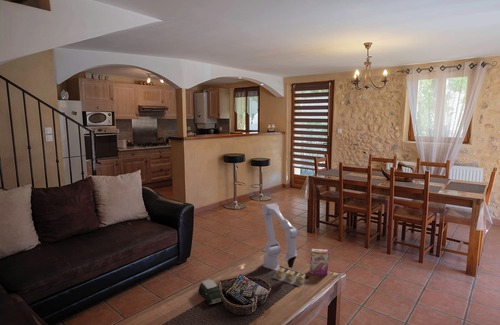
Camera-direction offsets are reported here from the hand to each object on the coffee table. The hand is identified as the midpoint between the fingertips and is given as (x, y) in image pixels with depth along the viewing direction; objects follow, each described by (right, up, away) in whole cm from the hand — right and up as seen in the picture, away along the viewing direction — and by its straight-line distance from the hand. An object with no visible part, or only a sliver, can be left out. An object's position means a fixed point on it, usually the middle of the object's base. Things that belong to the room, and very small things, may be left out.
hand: (290, 267), depth 197 cm
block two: (+6, -8, -2) cm, 10 cm away
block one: (-6, -7, +5) cm, 10 cm away
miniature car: (-48, -11, -18) cm, 53 cm away
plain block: (0, -8, +1) cm, 8 cm away
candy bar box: (+20, -8, +9) cm, 23 cm away
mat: (0, -8, +1) cm, 8 cm away
